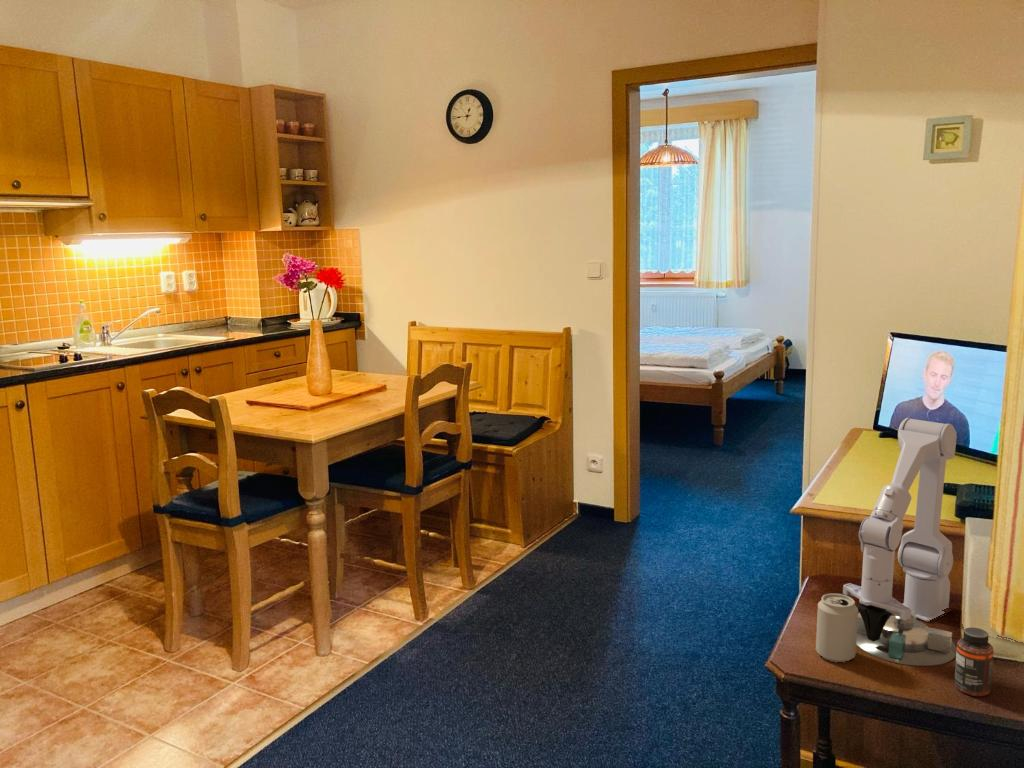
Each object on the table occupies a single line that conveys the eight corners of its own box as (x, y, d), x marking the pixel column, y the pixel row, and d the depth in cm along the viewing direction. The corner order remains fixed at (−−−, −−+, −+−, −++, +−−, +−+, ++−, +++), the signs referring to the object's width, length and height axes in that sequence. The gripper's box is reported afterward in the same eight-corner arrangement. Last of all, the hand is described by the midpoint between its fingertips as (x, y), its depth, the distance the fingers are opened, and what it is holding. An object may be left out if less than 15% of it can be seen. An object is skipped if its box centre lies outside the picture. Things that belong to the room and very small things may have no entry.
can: (858, 666, 165) (862, 608, 163) (818, 663, 166) (821, 605, 164) (851, 647, 172) (854, 592, 170) (812, 644, 174) (815, 589, 171)
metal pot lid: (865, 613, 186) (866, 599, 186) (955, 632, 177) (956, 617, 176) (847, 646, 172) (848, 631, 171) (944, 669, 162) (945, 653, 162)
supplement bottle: (984, 682, 158) (989, 626, 156) (995, 699, 153) (1000, 641, 150) (949, 679, 160) (954, 623, 158) (958, 696, 154) (963, 638, 152)
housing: (888, 611, 188) (889, 587, 187) (977, 647, 171) (979, 622, 170) (829, 635, 177) (830, 610, 176) (918, 676, 161) (920, 649, 160)
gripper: (834, 567, 174) (830, 629, 177) (896, 593, 162) (891, 659, 164) (857, 560, 177) (853, 621, 180) (919, 585, 165) (915, 650, 167)
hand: (873, 639), depth 172 cm, fingers closed
